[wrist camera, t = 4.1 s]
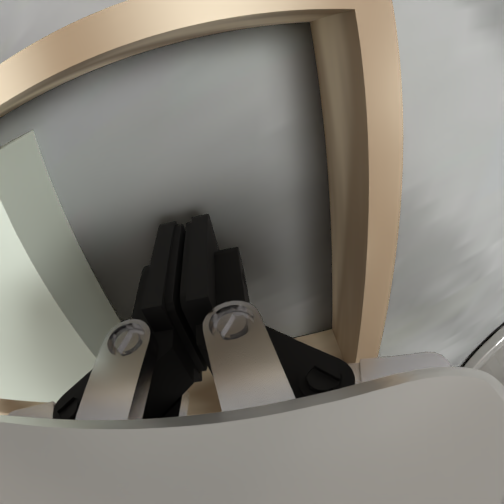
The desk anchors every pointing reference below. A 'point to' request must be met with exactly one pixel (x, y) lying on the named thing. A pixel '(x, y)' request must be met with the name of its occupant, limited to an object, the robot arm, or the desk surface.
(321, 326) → the desk surface
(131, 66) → the desk surface
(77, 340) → the cover plate
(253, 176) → the desk surface
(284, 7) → the wooden frame
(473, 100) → the desk surface
